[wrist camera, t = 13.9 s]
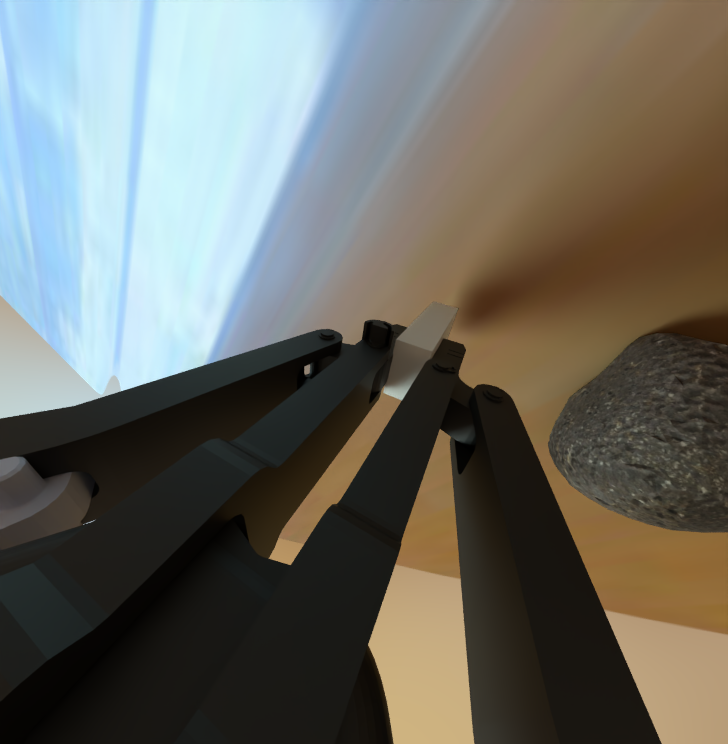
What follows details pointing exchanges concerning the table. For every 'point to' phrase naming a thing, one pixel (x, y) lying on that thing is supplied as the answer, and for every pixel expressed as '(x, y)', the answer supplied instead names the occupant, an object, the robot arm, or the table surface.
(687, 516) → the stone
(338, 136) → the table surface
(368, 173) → the table surface
